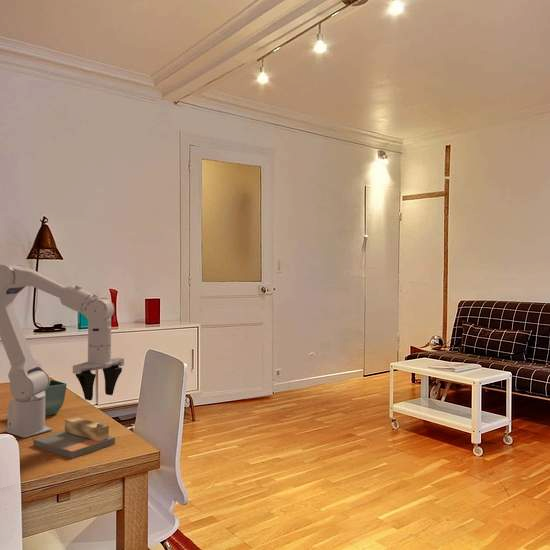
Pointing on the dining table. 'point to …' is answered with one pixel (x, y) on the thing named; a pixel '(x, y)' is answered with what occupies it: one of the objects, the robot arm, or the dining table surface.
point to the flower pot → (54, 397)
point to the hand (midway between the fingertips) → (99, 397)
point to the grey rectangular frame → (70, 444)
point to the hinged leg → (87, 429)
